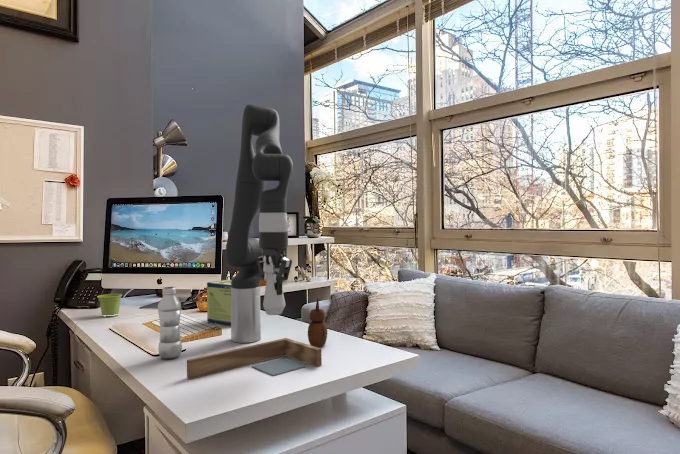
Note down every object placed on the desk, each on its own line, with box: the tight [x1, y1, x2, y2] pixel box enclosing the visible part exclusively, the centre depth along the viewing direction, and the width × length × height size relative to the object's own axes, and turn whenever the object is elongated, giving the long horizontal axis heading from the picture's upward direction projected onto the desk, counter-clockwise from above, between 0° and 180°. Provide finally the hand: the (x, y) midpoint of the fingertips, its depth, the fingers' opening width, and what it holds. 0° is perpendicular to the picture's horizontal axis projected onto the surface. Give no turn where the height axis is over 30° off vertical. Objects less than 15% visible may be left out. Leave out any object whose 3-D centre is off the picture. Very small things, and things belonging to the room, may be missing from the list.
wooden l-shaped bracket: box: [186, 337, 323, 380], centre depth 118 cm, size 16×30×4 cm, turn 132°
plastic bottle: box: [157, 286, 183, 359], centre depth 131 cm, size 6×7×20 cm
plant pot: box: [96, 293, 123, 316], centre depth 192 cm, size 9×9×9 cm
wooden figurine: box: [307, 298, 328, 348], centre depth 142 cm, size 7×6×15 cm
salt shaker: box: [262, 264, 286, 316], centre depth 121 cm, size 6×6×13 cm
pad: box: [251, 357, 306, 377], centre depth 121 cm, size 10×10×1 cm
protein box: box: [206, 279, 232, 327], centre depth 178 cm, size 10×16×16 cm
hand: (274, 295), depth 121 cm, fingers closed on salt shaker, 3 cm apart
